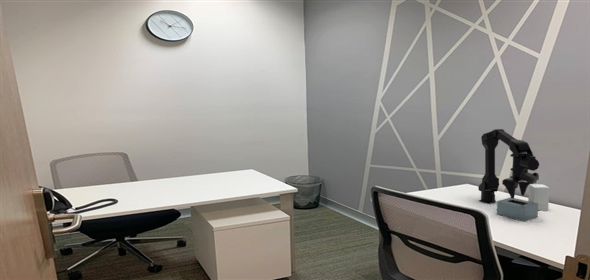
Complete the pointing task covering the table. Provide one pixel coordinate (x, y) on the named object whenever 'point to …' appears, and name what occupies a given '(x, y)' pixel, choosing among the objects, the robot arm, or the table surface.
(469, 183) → the table surface
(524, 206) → the box
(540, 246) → the table surface
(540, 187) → the supplement box
